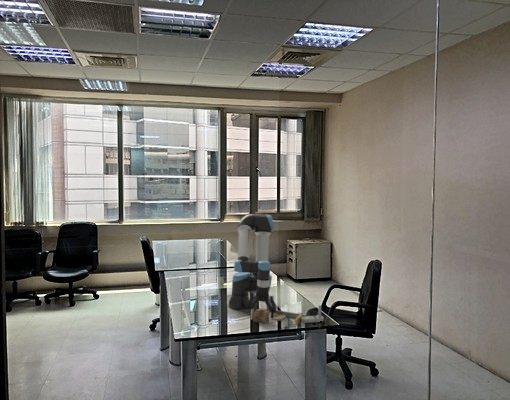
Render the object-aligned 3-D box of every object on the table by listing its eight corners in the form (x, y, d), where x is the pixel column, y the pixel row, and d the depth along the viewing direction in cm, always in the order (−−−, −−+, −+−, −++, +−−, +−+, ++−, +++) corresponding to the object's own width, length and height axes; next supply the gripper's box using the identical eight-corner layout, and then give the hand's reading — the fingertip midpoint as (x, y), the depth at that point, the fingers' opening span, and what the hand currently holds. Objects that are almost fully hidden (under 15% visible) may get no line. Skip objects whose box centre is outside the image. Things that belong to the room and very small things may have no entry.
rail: (263, 318, 254) (263, 312, 254) (269, 313, 265) (269, 308, 264) (296, 324, 246) (297, 319, 246) (301, 319, 256) (302, 314, 256)
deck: (263, 318, 254) (263, 316, 254) (269, 313, 265) (269, 311, 265) (294, 324, 246) (295, 322, 246) (300, 319, 256) (300, 317, 256)
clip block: (253, 320, 248) (254, 310, 247) (256, 318, 252) (257, 308, 252) (265, 323, 245) (266, 312, 244) (268, 320, 249) (269, 310, 249)
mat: (252, 322, 246) (252, 321, 246) (257, 318, 254) (257, 317, 254) (264, 324, 243) (264, 323, 243) (269, 320, 251) (269, 320, 251)
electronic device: (300, 305, 255) (321, 304, 259) (299, 320, 255) (321, 319, 259) (303, 308, 249) (325, 306, 253) (302, 323, 250) (324, 322, 254)
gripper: (242, 284, 249) (240, 319, 250) (279, 290, 240) (277, 326, 240) (247, 282, 256) (245, 315, 256) (283, 287, 246) (281, 322, 247)
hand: (261, 321), depth 248 cm, fingers open, 12 cm apart
